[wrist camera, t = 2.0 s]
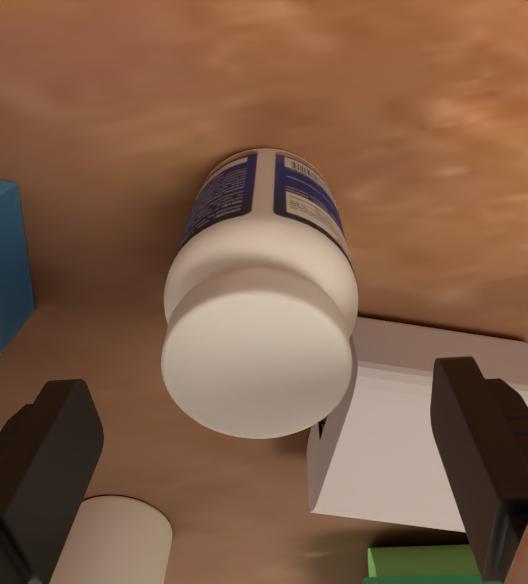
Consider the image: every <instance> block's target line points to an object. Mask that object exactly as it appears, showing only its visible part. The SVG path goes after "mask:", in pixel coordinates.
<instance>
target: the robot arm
mask: <svg viewBox="0 0 528 584" xmlns="http://www.w3.org/2000/svg"><path fill="white" fill-rule="evenodd" d="M430 420H431V427H432V432H433V436H434V440H435V443H436V446H437V449H438V451H439V454H440V457H441V460H442V463H443V466H444V469H445V472H446V475H447V478H448V481H449V484H450V487H451V490H452V493H453V496H454V499H455V502H456V505H457V508H458V511H459V514H460V517H461V520H462V523H463V525H464V528H465V531H466V534H467V537H468V540H469V543H470V546H471V549H472V552H473V555H474V558H475V561H476V564H477V567H478V570H479V573H480V576H481V579H482V582H502V584H528V406H527V405H526V403H525V401H524V400H523V398H522V396H521V395H520V394H519V393H518V392H517V391H515V390H514V389H513V388H512V387H511V386H509V385H508V384H507V383H506V382H504V381H503V380H502V379H501V378H496V379H485V378H484V376H483V374H482V372H481V370H480V369H479V367H478V365H477V363H476V361H475V359H474V358H473V357H472V356H463V357H447V358H436V359H435V362H434V369H433V381H432V393H431V404H430ZM103 442H104V433H103V427H102V424H101V421H100V418H99V416H98V413H97V410H96V408H95V405H94V402H93V400H92V397H91V394H90V392H89V389H88V386H87V384H86V383H85V381H84V380H82V379H72V380H56V381H49V382H47V383H46V384H45V385H44V387H43V388H42V390H41V391H40V393H39V395H38V396H37V398H36V400H35V401H34V403H33V404H26V405H25V406H24V407H23V408H22V409H20V410H19V411H18V412H17V413H16V414H15V415H14V416H12V417H11V418H10V419H9V420H8V421H7V422H6V424H5V425H4V427H3V428H2V430H1V431H0V584H49V583H50V580H51V578H52V575H53V573H54V570H55V568H56V565H57V563H58V560H59V558H60V555H61V553H62V550H63V548H64V545H65V543H66V540H67V537H68V535H69V532H70V530H71V527H72V525H73V522H74V520H75V517H76V515H77V512H78V510H79V507H80V505H81V502H82V500H83V497H84V495H85V492H86V490H87V487H88V485H89V482H90V480H91V477H92V475H93V472H94V470H95V467H96V465H97V462H98V460H99V457H100V455H101V452H102V448H103Z"/></svg>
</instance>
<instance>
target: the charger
mask: <svg viewBox="0 0 528 584" xmlns="http://www.w3.org/2000/svg"><path fill="white" fill-rule="evenodd" d="M349 342H350V348H351V353H352V363H353V364H352V375H351V380H350V384H349V386H348V389H347V391H346V393H345V395H344V396H343V398H342V400H341V401H340V403H339V404H338V405H337V406H336V407H335V408H334V409H333V411H332V412H331V413H329V414H328V415H327V416H326V417H325V418H323V419H322V420H321V421H319V422H317V423H316V424H314V425H313V426H311V430H310V434H309V439H308V445H307V477H308V496H309V510H310V512H311V513H319V514H327V515H335V516H342V517H350V518H358V519H366V520H373V521H381V522H389V523H397V524H404V525H412V526H420V527H428V528H435V529H443V530H451V531H459V532H466V531H465V528H464V525H463V523H462V520H461V517H460V514H459V511H458V508H457V505H456V502H455V499H454V496H453V493H452V490H451V487H450V484H449V481H448V478H447V475H446V472H445V469H444V466H443V463H442V460H441V457H440V454H439V451H438V449H437V446H436V443H435V440H434V436H433V432H432V427H431V420H430V404H431V393H432V381H433V369H434V362H435V359H436V358H447V357H463V356H472V357H473V358H474V359H475V361H476V363H477V365H478V367H479V369H480V370H481V372H482V374H483V376H484V378H485V379H496V378H501V379H502V380H503V381H504V382H506V383H507V384H508V385H509V386H511V387H512V388H513V389H514V390H515V391H517V392H518V393H519V394H520V395H521V396H522V398H523V400H524V401H525V403H526V405H527V406H528V342H522V341H516V340H509V339H502V338H496V337H489V336H483V335H476V334H469V333H463V332H456V331H450V330H443V329H436V328H430V327H423V326H417V325H410V324H403V323H397V322H390V321H384V320H377V319H371V318H364V317H357V318H356V323H355V326H354V329H353V331H352V334H351V336H350V338H349Z"/></svg>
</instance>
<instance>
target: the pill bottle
mask: <svg viewBox="0 0 528 584" xmlns="http://www.w3.org/2000/svg"><path fill="white" fill-rule="evenodd" d="M164 309H165V316H166V320H167V323H168V327H167V332H166V337H165V341H164V344H163V348H162V355H161V371H162V377H163V380H164V383H165V386H166V388H167V390H168V392H169V394H170V396H171V397H172V399H173V400H174V401H175V403H176V404H177V405H178V406H179V407H180V408H181V409H182V410H183V411H184V412H185V413H186V414H187V415H188V416H190V417H191V418H192V419H193V420H195V421H197V422H198V423H200V424H202V425H204V426H206V427H207V428H210V429H212V430H214V431H217V432H220V433H223V434H227V435H231V436H236V437H241V438H251V439H267V438H276V437H281V436H286V435H290V434H293V433H296V432H299V431H302V430H304V429H306V428H309V427H311V426H313V425H314V424H316V423H317V422H319V421H321V420H322V419H323V418H325V417H326V416H327V415H328V414H329V413H331V412H332V411H333V409H334V408H335V407H336V406H337V405H338V404H339V403H340V401H341V400H342V398H343V396H344V395H345V393H346V391H347V389H348V386H349V384H350V380H351V375H352V364H353V363H352V353H351V348H350V342H349V338H350V336H351V334H352V331H353V329H354V326H355V323H356V318H357V313H358V290H357V283H356V277H355V274H354V270H353V267H352V263H351V259H350V255H349V251H348V248H347V244H346V240H345V236H344V232H343V228H342V225H341V221H340V217H339V213H338V209H337V205H336V202H335V199H334V196H333V193H332V191H331V189H330V186H329V185H328V183H327V181H326V180H325V178H324V177H323V176H322V174H321V173H320V172H319V171H318V170H317V169H316V168H315V167H314V166H313V165H312V164H310V163H309V162H307V161H306V160H304V159H303V158H301V157H299V156H297V155H295V154H293V153H290V152H287V151H284V150H279V149H271V148H260V149H252V150H247V151H243V152H240V153H238V154H235V155H233V156H231V157H229V158H228V159H226V160H224V161H223V162H222V163H220V164H219V165H218V166H217V167H216V168H214V170H213V171H212V172H211V173H210V174H209V175H208V177H207V178H206V179H205V181H204V183H203V185H202V186H201V188H200V190H199V192H198V195H197V197H196V200H195V203H194V205H193V208H192V211H191V213H190V216H189V219H188V221H187V224H186V227H185V230H184V232H183V235H182V237H181V240H180V243H179V245H178V248H177V251H176V253H175V256H174V258H173V261H172V263H171V267H170V270H169V273H168V276H167V280H166V284H165V290H164Z"/></svg>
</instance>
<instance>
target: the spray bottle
mask: <svg viewBox="0 0 528 584" xmlns="http://www.w3.org/2000/svg"><path fill="white" fill-rule="evenodd" d="M171 543H172V528H171V525H170V523H169V521H168V520H167V519H166V517H165V516H164V515H163V514H162V513H161V512H160V511H158V510H157V509H156V508H154V507H152V506H151V505H149V504H147V503H144V502H142V501H139V500H136V499H133V498H129V497H123V496H99V497H94V498H91V499H88V500H86V501H83V502H82V503H81V505H80V507H79V510H78V512H77V515H76V517H75V520H74V522H73V525H72V527H71V530H70V532H69V535H68V537H67V540H66V543H65V545H64V548H63V550H62V553H61V555H60V558H59V560H58V563H57V565H56V568H55V570H54V573H53V575H52V578H51V580H50V583H49V584H163V583H164V578H165V573H166V568H167V563H168V558H169V553H170V548H171Z"/></svg>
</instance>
